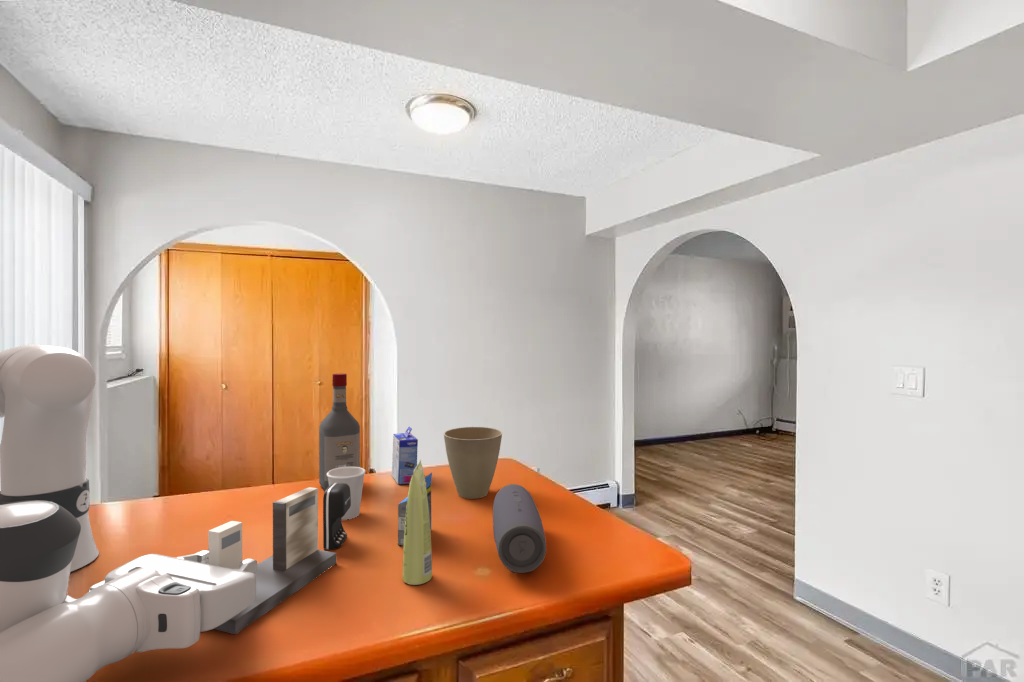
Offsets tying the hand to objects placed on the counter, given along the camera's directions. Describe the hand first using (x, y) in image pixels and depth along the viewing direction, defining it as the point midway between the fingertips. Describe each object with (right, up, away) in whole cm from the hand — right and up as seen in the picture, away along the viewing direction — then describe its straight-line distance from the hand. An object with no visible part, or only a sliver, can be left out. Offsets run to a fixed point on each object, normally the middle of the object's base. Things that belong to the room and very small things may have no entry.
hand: (230, 559), depth 75 cm
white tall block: (0, -6, -1) cm, 6 cm away
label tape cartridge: (+22, -8, +28) cm, 36 cm away
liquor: (-4, -7, +60) cm, 60 cm away
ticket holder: (+2, -8, +7) cm, 11 cm away
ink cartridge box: (+12, -7, +66) cm, 68 cm away
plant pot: (+32, -7, +54) cm, 63 cm away
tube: (+26, -8, +11) cm, 29 cm away
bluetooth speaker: (+43, -8, +22) cm, 49 cm away
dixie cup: (+4, -7, +39) cm, 40 cm away
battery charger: (+8, -8, +25) cm, 27 cm away
